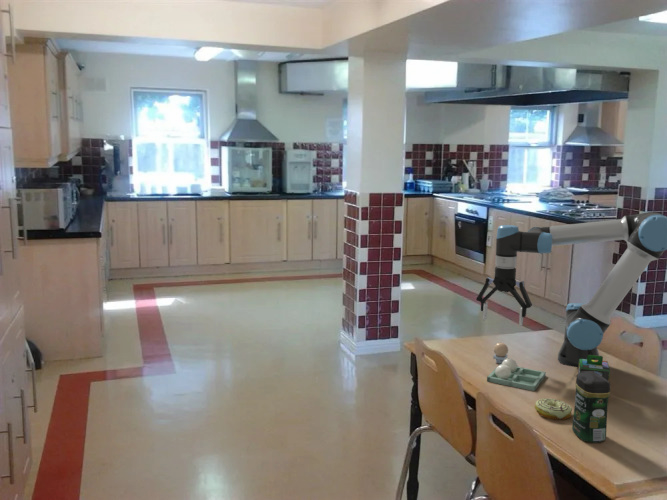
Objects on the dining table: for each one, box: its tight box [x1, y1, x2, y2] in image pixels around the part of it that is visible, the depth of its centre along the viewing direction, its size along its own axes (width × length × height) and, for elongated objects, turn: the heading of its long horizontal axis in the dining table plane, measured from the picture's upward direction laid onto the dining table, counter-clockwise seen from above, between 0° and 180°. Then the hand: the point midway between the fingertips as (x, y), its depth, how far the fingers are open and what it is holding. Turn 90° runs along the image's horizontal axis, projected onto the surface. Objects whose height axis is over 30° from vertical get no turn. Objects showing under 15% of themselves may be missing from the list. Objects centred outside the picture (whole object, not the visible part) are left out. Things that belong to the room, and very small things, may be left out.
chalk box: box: [577, 355, 611, 382], centre depth 205 cm, size 9×9×15 cm
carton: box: [486, 363, 547, 392], centre depth 218 cm, size 16×16×2 cm
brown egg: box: [493, 342, 509, 357], centre depth 235 cm, size 5×5×5 cm
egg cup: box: [492, 354, 508, 364], centre depth 235 cm, size 4×4×4 cm
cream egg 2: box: [494, 364, 511, 380], centre depth 217 cm, size 5×5×5 cm
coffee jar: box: [571, 371, 611, 444], centre depth 176 cm, size 10×8×19 cm
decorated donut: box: [534, 397, 573, 421], centre depth 192 cm, size 10×11×4 cm
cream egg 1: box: [501, 357, 518, 373], centre depth 223 cm, size 5×5×5 cm
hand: (502, 322), depth 233 cm, fingers open, 13 cm apart
